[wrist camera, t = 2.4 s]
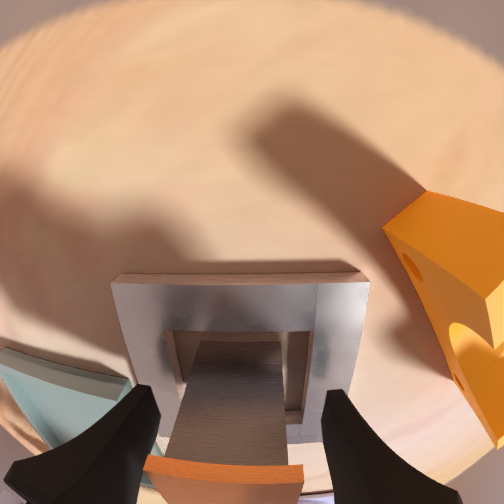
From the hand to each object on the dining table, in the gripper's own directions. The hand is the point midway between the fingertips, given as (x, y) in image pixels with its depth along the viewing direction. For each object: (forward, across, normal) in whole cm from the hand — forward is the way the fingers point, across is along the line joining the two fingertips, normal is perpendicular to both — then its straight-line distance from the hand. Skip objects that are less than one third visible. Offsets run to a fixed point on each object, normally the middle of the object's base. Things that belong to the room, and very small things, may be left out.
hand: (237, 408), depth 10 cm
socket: (+2, 0, 0) cm, 2 cm away
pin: (+2, 0, 0) cm, 2 cm away
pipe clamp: (+3, -11, -3) cm, 12 cm away
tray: (+2, +12, +7) cm, 14 cm away
